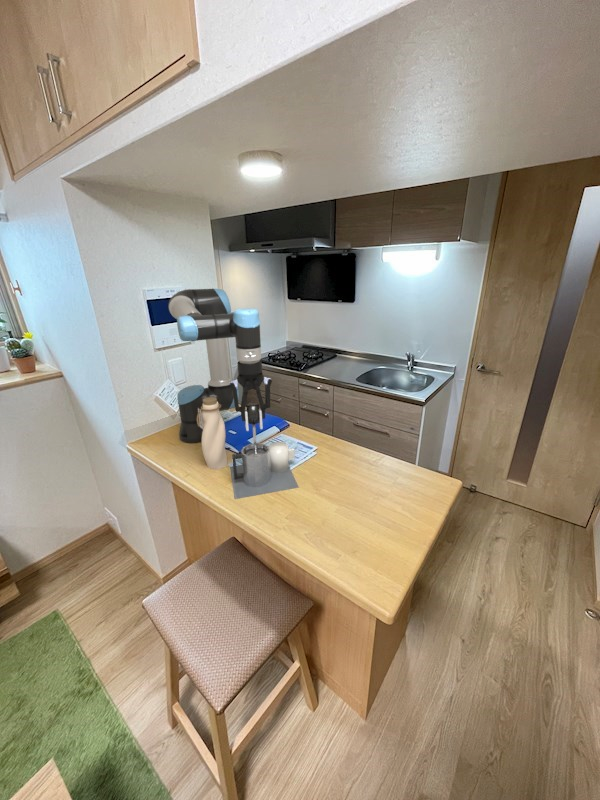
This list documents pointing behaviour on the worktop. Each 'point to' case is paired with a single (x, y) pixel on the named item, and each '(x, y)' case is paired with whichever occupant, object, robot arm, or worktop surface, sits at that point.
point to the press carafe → (254, 466)
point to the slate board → (276, 484)
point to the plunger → (254, 419)
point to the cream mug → (280, 457)
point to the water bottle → (212, 433)
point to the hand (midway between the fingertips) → (254, 428)
